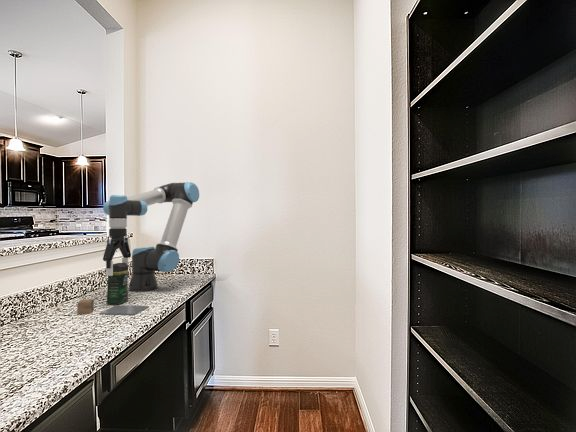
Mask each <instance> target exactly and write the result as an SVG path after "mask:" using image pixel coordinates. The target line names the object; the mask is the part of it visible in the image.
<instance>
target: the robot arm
mask: <svg viewBox="0 0 576 432" xmlns="http://www.w3.org/2000/svg"><path fill="white" fill-rule="evenodd" d="M199 199H200V190H199V187H198V185H197V184H196V183H194V182H189V181H186V182H170V183H167V184H162V185H161V186H157V187H154V188H153V190H149V191H147V192H141V193H137V194H135V195H131V196H127V195H125V194H112V195H110V196H109V200H108V201H106V202H105V203H104V204H103V207H102V208H103V211H104V213H105V214H106V215H107V216H108V218H109V219H108V222H109V223H108V225H109V229H108V236H109V237H110V238H108V239H107V241H106V246H105V250H104V253H103V257H102V261H104V262H105V276H107V277H108V276H113V264H114V260H113V258H114V256H115V254H116V251H117V250H118V249H119V251H120V253H121V255H122V257H121V263H126V264H127V265H128V266H129V258H131V269H132V270H131V272H132V273H131V278H130V281H129V283H128V291H131V292H146V291H147V292H149V291H153V290H157V289H158V288H159V283H158V280H157V277H156V275H155V272H162V273H165V272H166V273H167V272H168V273H170V272H172V271H173V270H175V269H176V268H177V267H178V265H179V262H180V254H179V252H178V251H179V250H178V248H177V244H178V241H179V239H180V235H181V232H182V230H183V225H184V223H185V220H186V217H187V214H188V212H189V211H188V210H189V209H191V208H192V207H193V203H196V202H198V201H199ZM163 203H172V207H171V210H170V214H169V217H168V219H167V223H166V225H165V228H164V231H163V233H162V237H161V240H160V242H158V243H156V246H146V247H138V248H133V250H132V253H131V248H130V246H129V239H128V237H127V232H128V231H127V226H128V224H127V223H128V222H127V221H128V220H127V219H128V216H129V217H130V216H133V217H134V216H136V217H139V216H140V217H141V216H144V215H145V214H147V212H148V207H149V206H151V205H155V204H163Z"/></svg>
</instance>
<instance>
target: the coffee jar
mask: <svg viewBox="0 0 576 432" xmlns="http://www.w3.org/2000/svg"><path fill="white" fill-rule="evenodd" d="M128 274H129V264H128V265H127V264H126V263H122V262H116V263H113V276H107V289H106V290H107V292H106V294H107V295H106V303H107V304H108V305H113V306H116V305H121V304H124V303H127V301H128V300H129V292H128V291H129V282H128V278H129V277H128Z"/></svg>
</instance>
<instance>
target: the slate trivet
mask: <svg viewBox="0 0 576 432" xmlns="http://www.w3.org/2000/svg"><path fill="white" fill-rule="evenodd" d="M149 307H150V306H149V305H121V304H115V305H113V306H112V307H109V308H108V309H105V310H103V311H100V312H99V314H105V315H106V316H107V315H109V316H136V315H139V313H141V312H143V311H145V310H147V309H149Z"/></svg>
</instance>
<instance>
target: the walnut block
mask: <svg viewBox="0 0 576 432" xmlns="http://www.w3.org/2000/svg"><path fill="white" fill-rule="evenodd" d="M76 307H77V308H76V309H77V310H76V311H77V312H76V313H77V315H78V316H79V315H90V313H91V314H93V312H94V311H95V310H94V309H95V301H94V298H93V299H92V298H91V299H80V300H79V301H77V306H76Z"/></svg>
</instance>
